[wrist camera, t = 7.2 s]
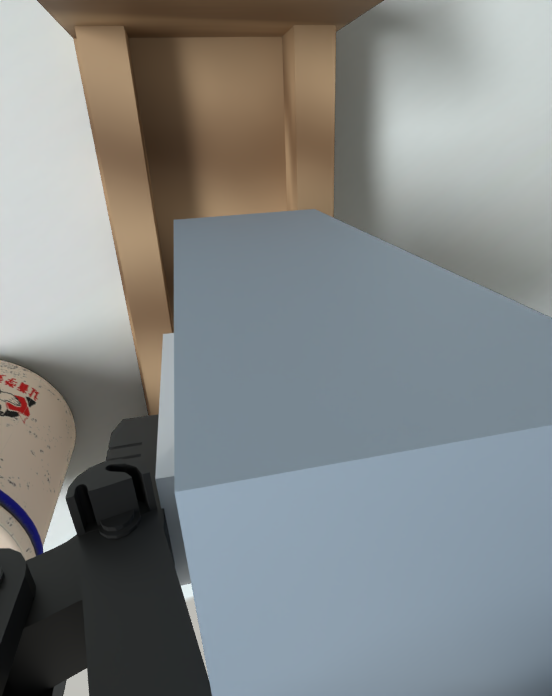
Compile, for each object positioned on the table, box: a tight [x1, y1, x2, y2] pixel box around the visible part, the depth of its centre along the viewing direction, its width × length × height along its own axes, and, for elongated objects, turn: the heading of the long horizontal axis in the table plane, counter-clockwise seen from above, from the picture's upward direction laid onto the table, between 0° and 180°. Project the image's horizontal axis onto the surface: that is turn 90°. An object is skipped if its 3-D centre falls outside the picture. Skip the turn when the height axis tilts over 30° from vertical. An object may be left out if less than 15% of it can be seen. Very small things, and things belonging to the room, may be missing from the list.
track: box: [37, 0, 384, 416], centre depth 20 cm, size 24×10×7 cm, turn 2°
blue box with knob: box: [174, 209, 552, 696], centre depth 11 cm, size 9×6×12 cm, turn 3°
